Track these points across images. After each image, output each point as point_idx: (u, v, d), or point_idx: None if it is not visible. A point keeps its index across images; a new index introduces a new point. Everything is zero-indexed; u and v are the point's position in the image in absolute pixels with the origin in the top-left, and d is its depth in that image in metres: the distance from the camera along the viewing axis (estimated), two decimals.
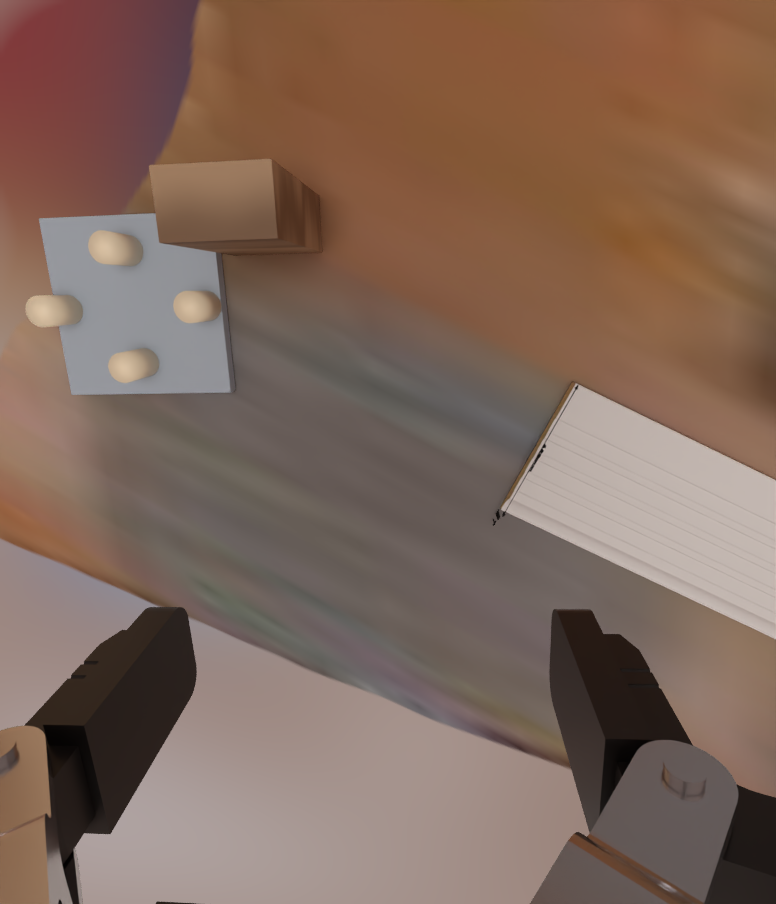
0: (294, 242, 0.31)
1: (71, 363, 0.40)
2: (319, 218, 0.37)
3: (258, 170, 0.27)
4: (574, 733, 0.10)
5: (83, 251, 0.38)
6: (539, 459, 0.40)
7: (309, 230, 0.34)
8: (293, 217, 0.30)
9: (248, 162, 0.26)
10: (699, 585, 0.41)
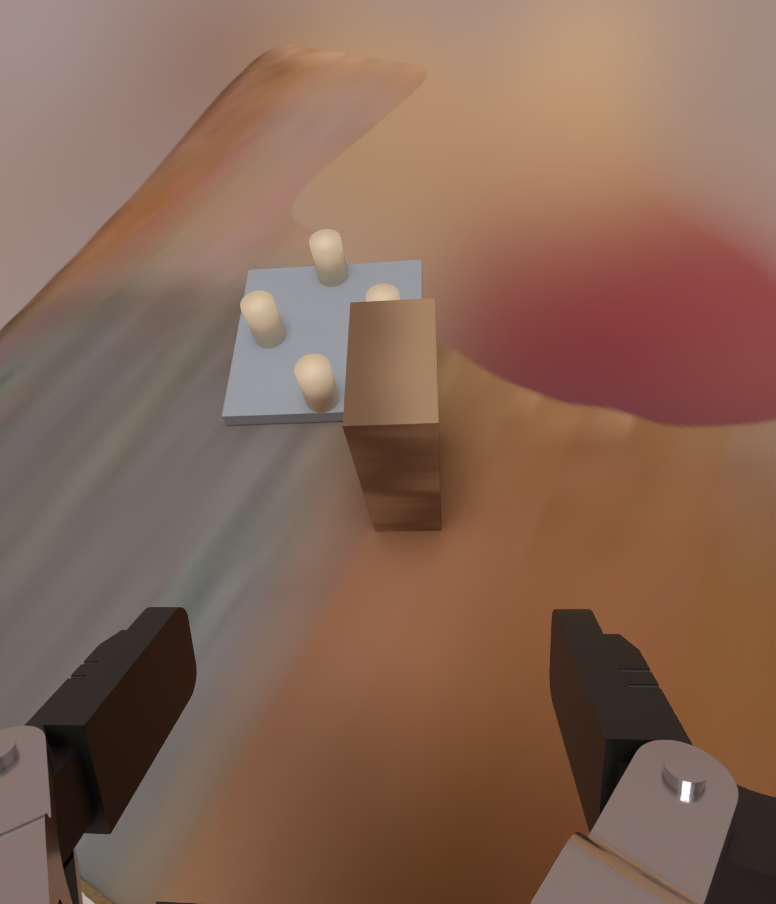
0: (356, 467, 0.23)
1: (280, 272, 0.39)
2: (413, 528, 0.30)
3: (425, 408, 0.21)
4: (574, 733, 0.10)
5: None
6: None
7: (388, 504, 0.27)
8: (387, 468, 0.23)
9: (434, 397, 0.21)
10: None
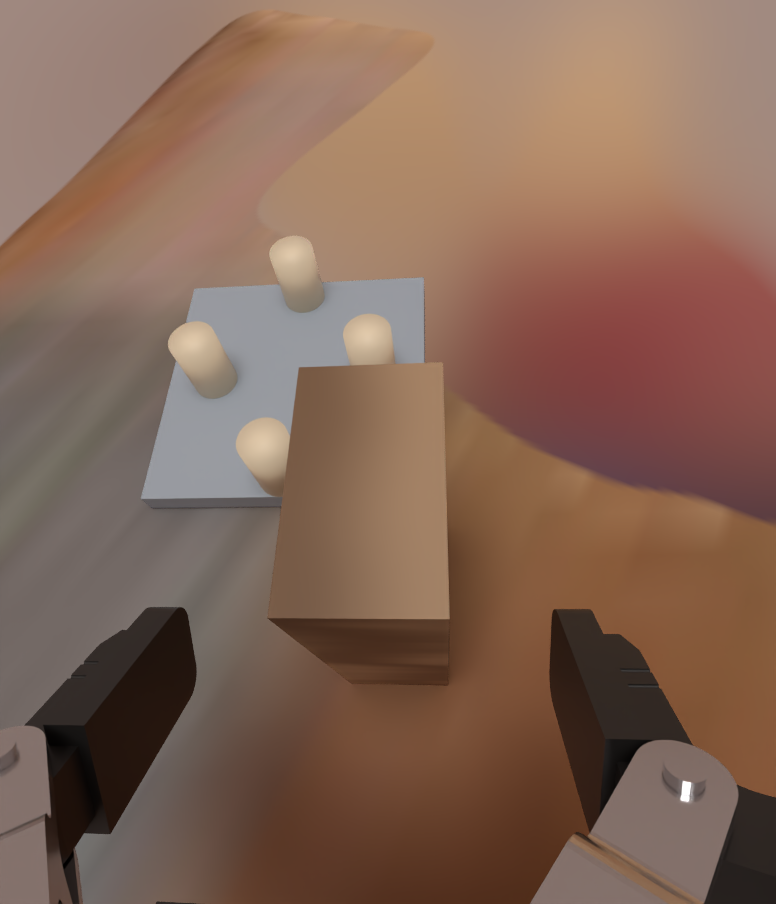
0: (308, 647, 0.14)
1: (235, 292, 0.29)
2: (407, 683, 0.20)
3: (425, 584, 0.11)
4: (574, 733, 0.10)
5: None
6: None
7: (367, 670, 0.17)
8: (360, 649, 0.14)
9: (442, 561, 0.11)
10: None
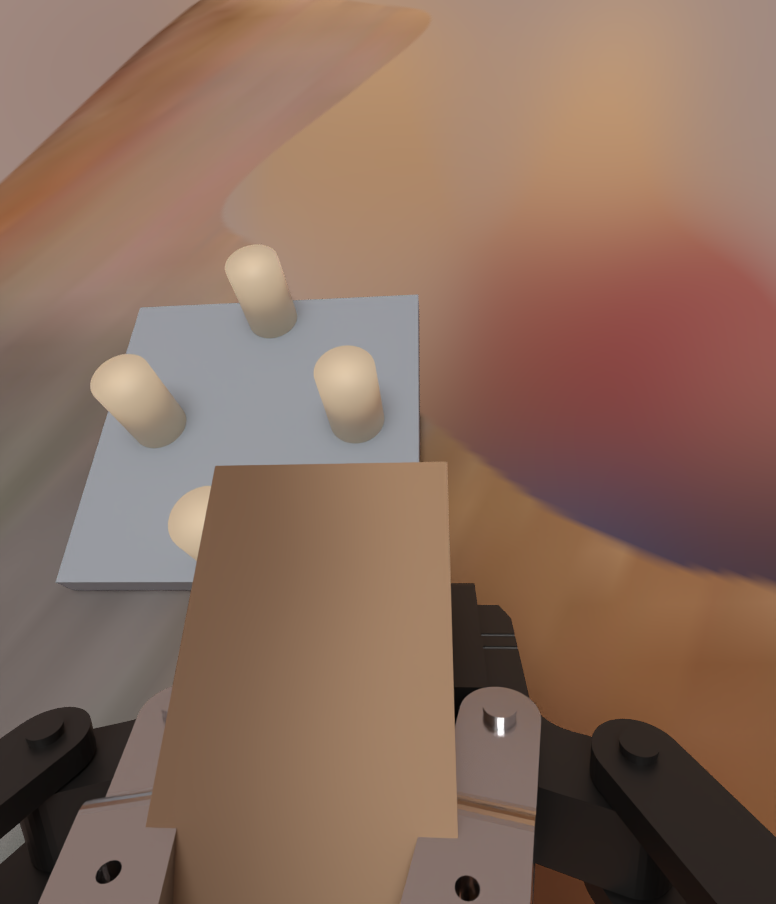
0: None
1: (189, 312, 0.24)
2: None
3: None
4: None
5: None
6: None
7: None
8: None
9: None
10: None
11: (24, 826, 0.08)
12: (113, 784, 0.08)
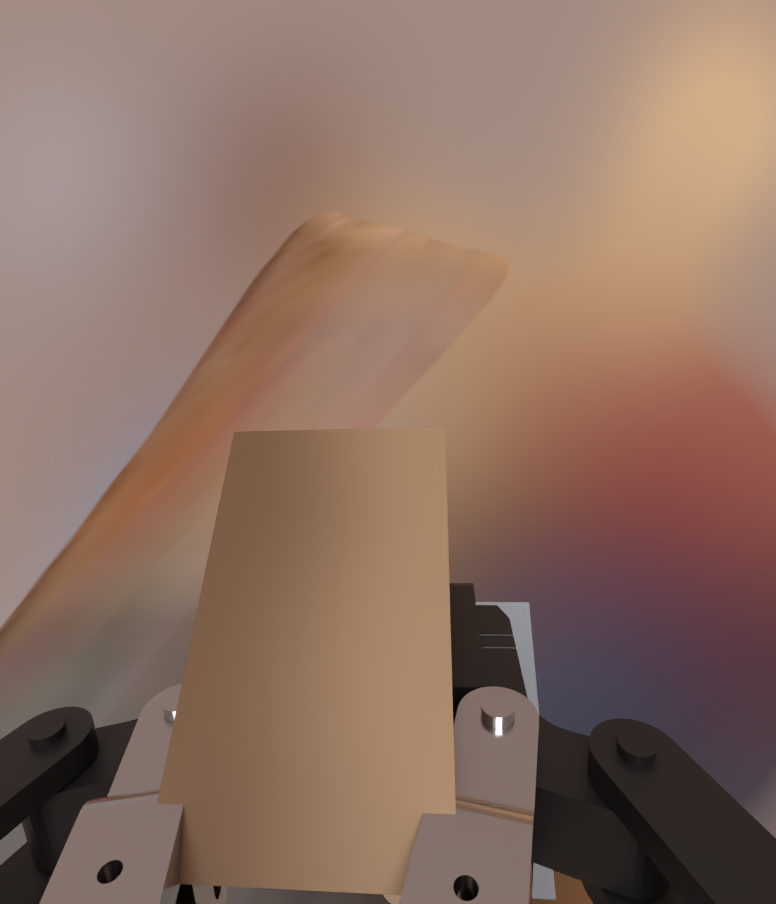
0: None
1: None
2: None
3: (414, 823, 0.06)
4: None
5: None
6: None
7: None
8: None
9: (445, 775, 0.07)
10: None
11: (27, 825, 0.08)
12: (115, 782, 0.08)
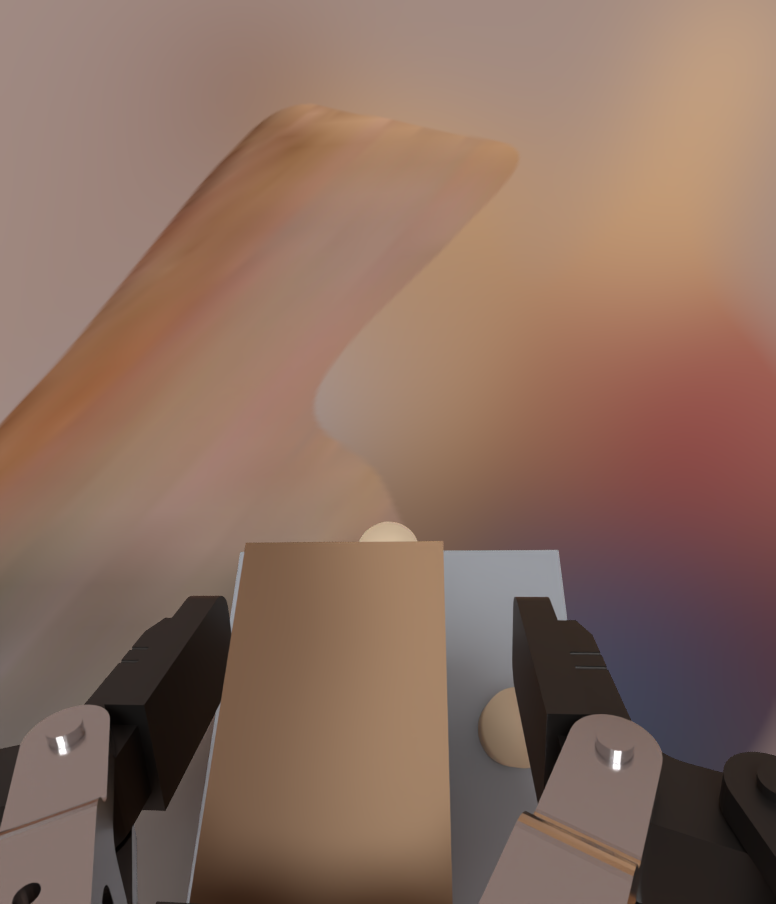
0: None
1: None
2: None
3: None
4: (527, 713, 0.10)
5: (503, 627, 0.19)
6: None
7: None
8: None
9: (444, 897, 0.07)
10: None
11: None
12: (5, 819, 0.07)
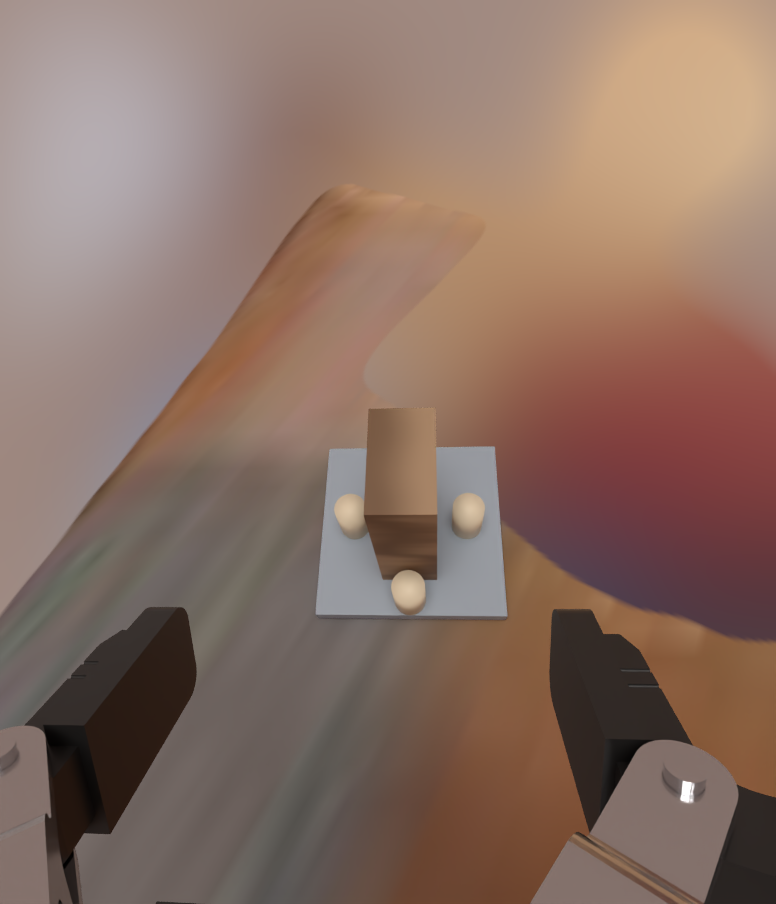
0: (371, 539, 0.30)
1: (360, 453, 0.41)
2: None
3: (427, 501, 0.27)
4: (574, 733, 0.10)
5: (465, 481, 0.39)
6: None
7: (395, 562, 0.33)
8: (396, 540, 0.30)
9: (434, 493, 0.27)
10: None
11: None
12: None
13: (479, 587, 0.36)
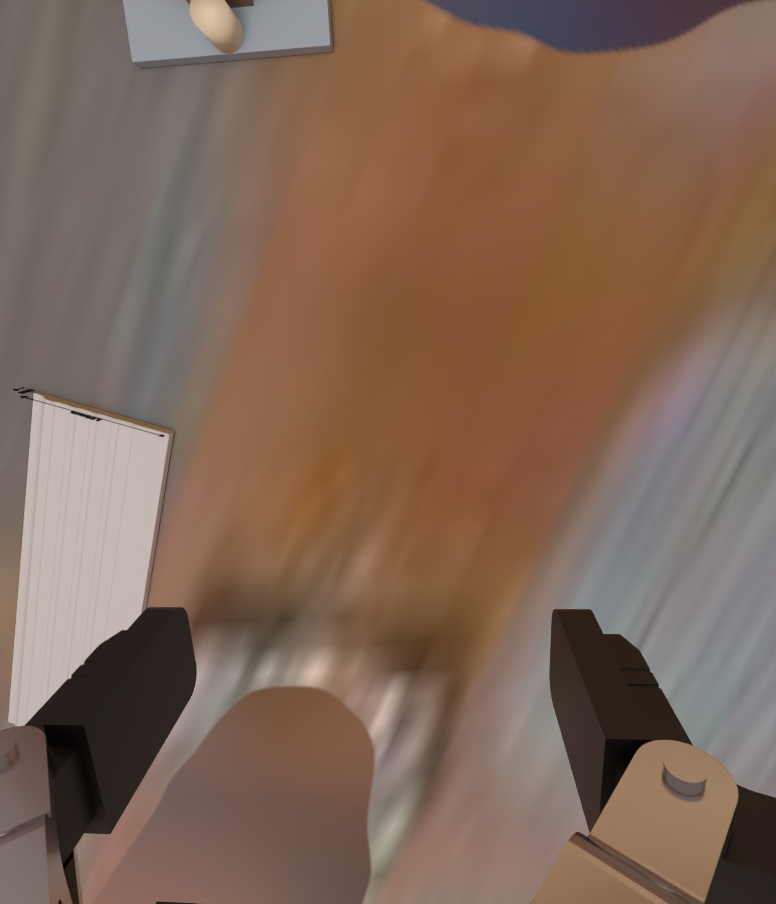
0: None
1: None
2: None
3: None
4: (574, 733, 0.10)
5: None
6: (91, 418, 0.40)
7: None
8: None
9: None
10: (31, 582, 0.45)
11: None
12: None
13: (300, 10, 0.32)
